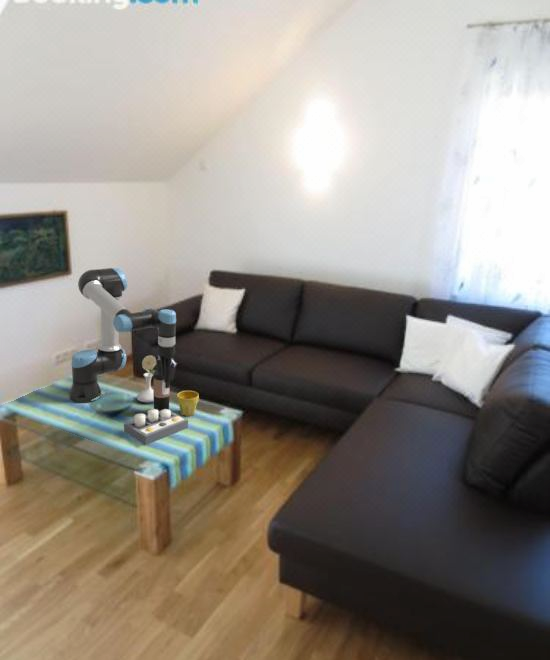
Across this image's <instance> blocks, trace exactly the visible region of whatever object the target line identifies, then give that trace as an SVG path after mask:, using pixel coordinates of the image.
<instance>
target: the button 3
mask: <svg viewBox="0 0 550 660" xmlns="http://www.w3.org/2000/svg"><path fill="white" fill-rule="evenodd" d="M171 412H172V411H171V410H170V409H169V410H168V409H163V410H161V416H160V417H161V418H163V419H167V418H169V417H171Z"/></svg>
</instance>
